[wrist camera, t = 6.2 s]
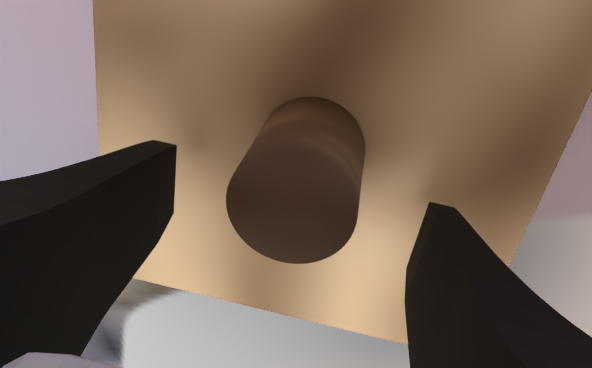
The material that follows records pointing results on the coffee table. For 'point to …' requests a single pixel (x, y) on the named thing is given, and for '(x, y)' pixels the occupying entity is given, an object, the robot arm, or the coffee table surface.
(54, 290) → the robot arm
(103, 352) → the coffee table surface
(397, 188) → the oak lid
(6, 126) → the coffee table surface
